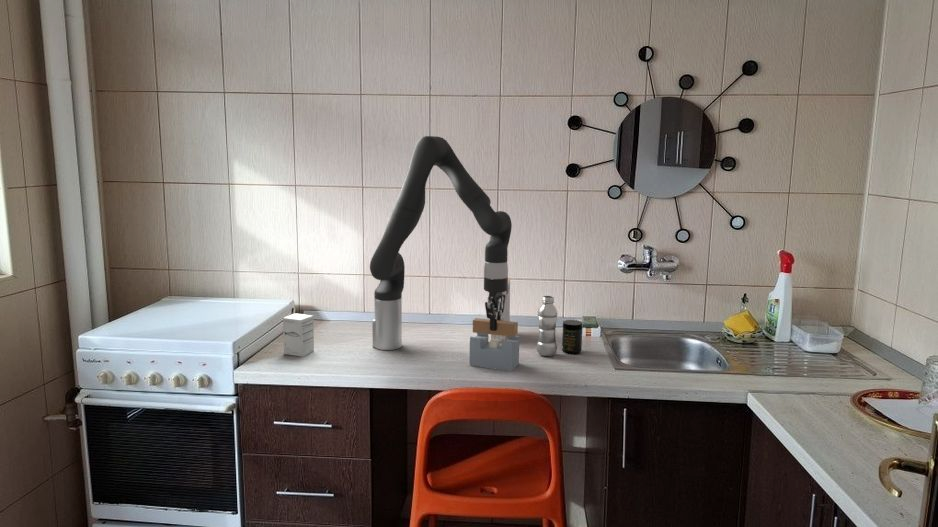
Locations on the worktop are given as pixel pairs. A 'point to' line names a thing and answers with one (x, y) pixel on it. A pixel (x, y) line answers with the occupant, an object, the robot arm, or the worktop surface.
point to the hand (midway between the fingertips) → (495, 328)
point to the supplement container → (572, 337)
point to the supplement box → (298, 334)
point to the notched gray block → (494, 352)
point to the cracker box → (504, 313)
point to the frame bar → (502, 327)
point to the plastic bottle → (547, 327)
